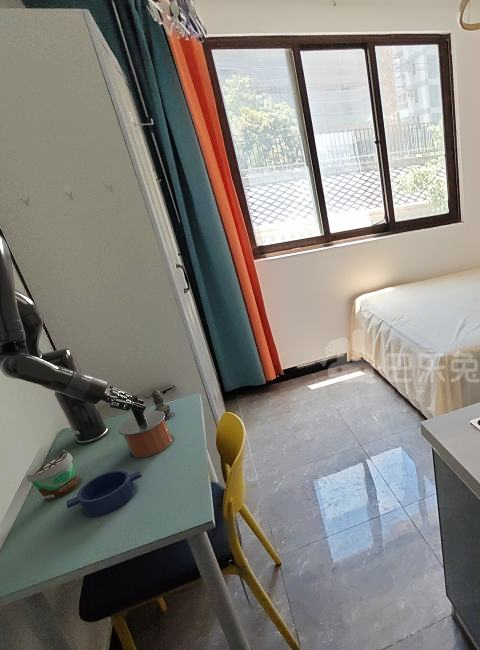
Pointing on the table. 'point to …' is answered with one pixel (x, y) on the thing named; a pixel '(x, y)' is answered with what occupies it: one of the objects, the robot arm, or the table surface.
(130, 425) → the lid
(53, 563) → the table surface
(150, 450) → the pot
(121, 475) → the pan
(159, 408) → the grey upright piece
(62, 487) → the food container
